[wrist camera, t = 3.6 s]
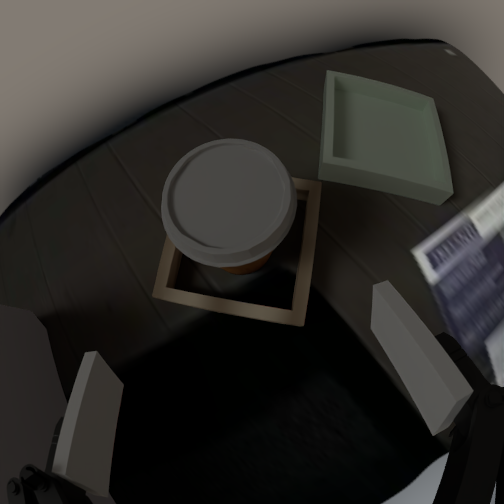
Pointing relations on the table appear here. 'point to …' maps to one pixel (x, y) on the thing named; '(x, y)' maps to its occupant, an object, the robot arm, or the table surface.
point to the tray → (383, 139)
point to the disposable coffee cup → (229, 205)
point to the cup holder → (295, 316)
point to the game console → (28, 397)
